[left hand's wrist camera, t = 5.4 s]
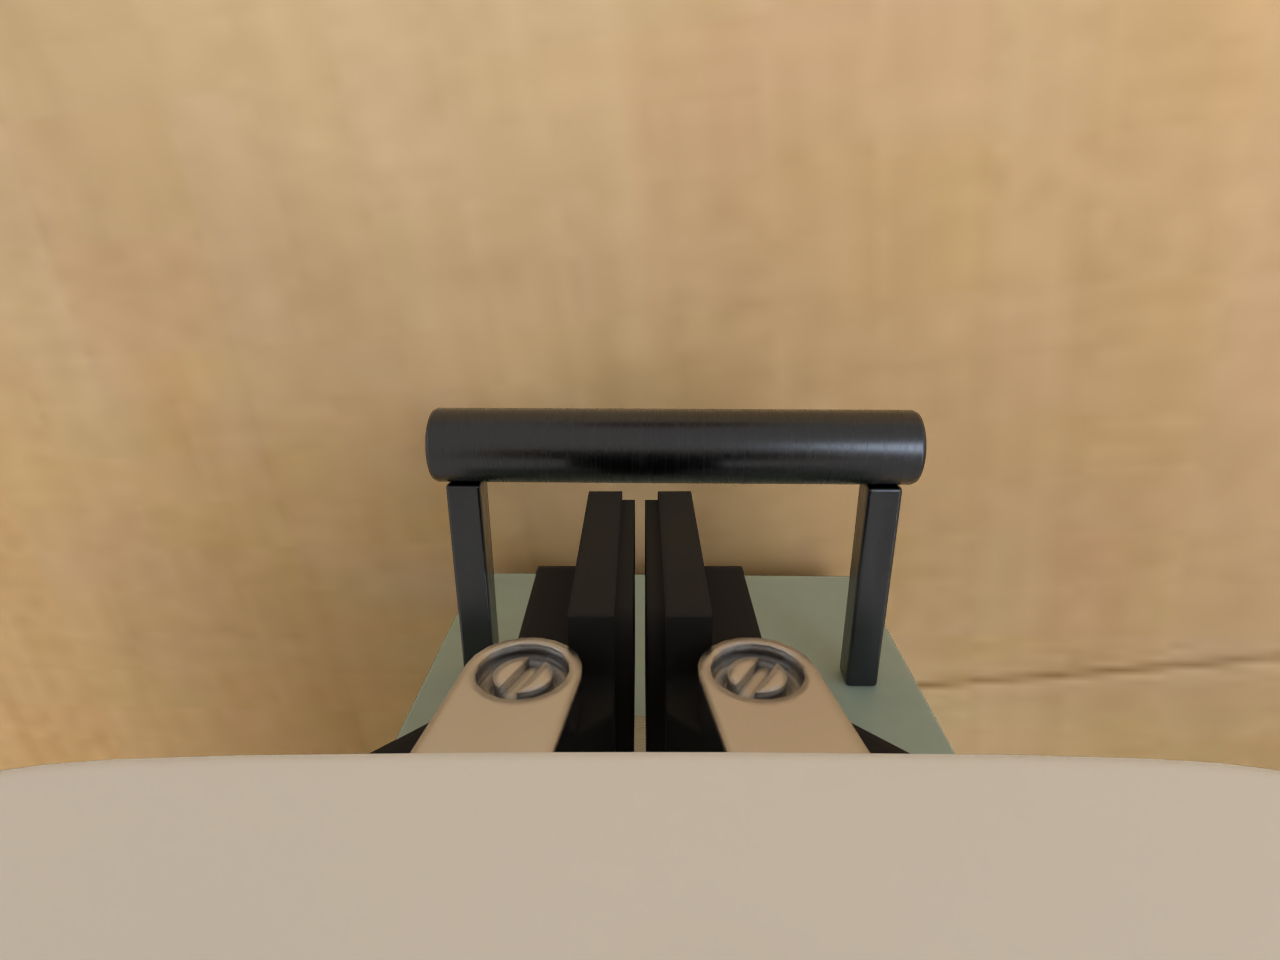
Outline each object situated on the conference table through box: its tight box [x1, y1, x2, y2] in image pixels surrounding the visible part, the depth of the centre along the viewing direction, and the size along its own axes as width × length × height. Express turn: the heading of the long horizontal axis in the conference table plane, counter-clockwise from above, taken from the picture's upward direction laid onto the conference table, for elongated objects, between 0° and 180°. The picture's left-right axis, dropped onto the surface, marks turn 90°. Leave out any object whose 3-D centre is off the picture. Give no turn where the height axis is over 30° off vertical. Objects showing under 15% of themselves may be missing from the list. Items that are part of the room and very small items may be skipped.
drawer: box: [396, 408, 955, 754], centre depth 17 cm, size 23×10×8 cm, turn 0°
